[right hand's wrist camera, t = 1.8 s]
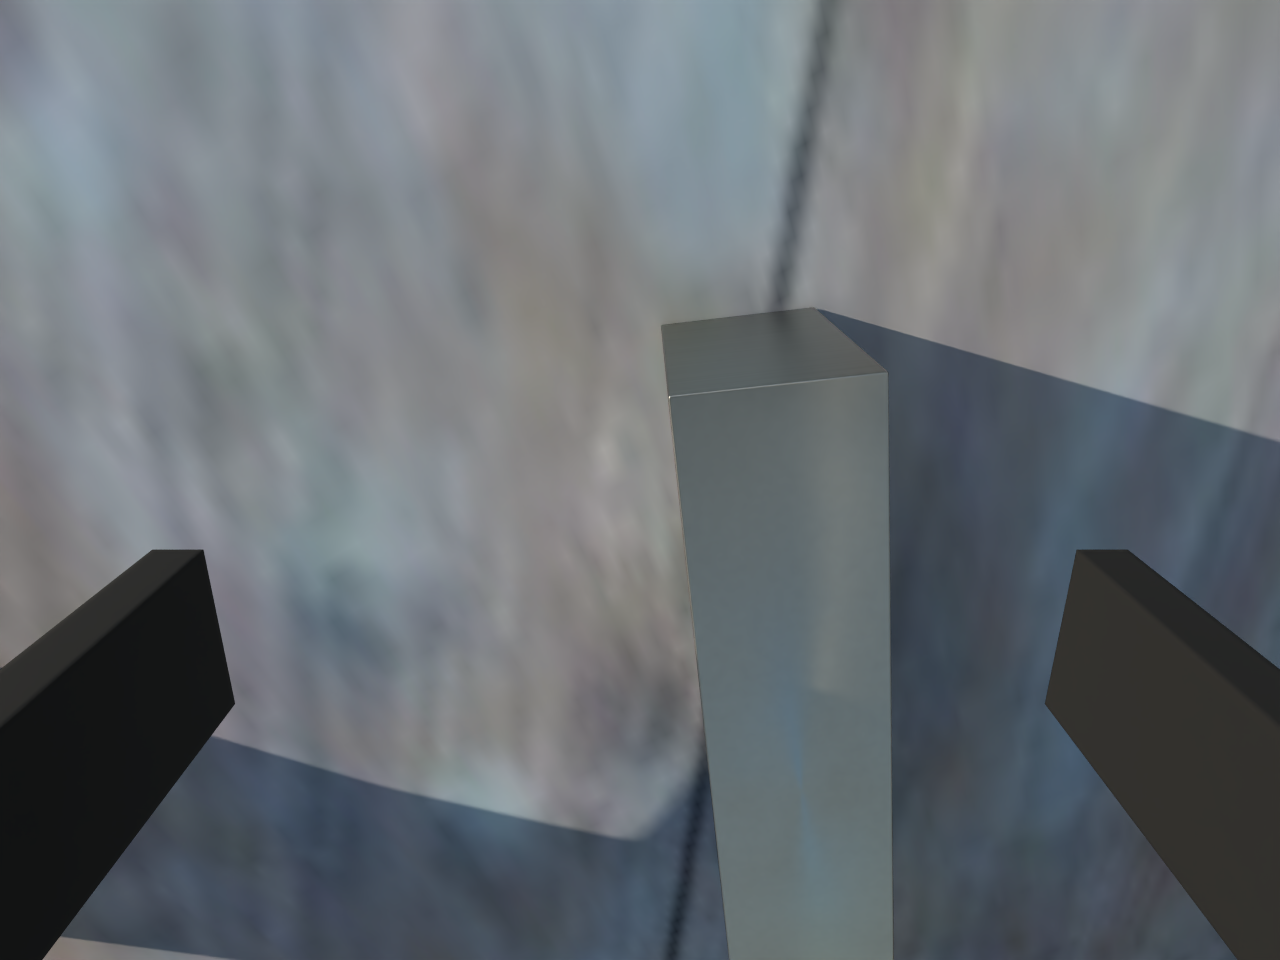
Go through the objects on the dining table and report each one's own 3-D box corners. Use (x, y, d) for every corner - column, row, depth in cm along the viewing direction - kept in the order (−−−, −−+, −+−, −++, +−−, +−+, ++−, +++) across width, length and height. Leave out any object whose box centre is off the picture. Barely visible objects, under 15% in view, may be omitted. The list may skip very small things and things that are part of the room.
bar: (660, 324, 28) (668, 396, 20) (814, 306, 28) (888, 371, 19) (719, 866, 37) (741, 1077, 28) (837, 856, 37) (895, 1066, 28)
